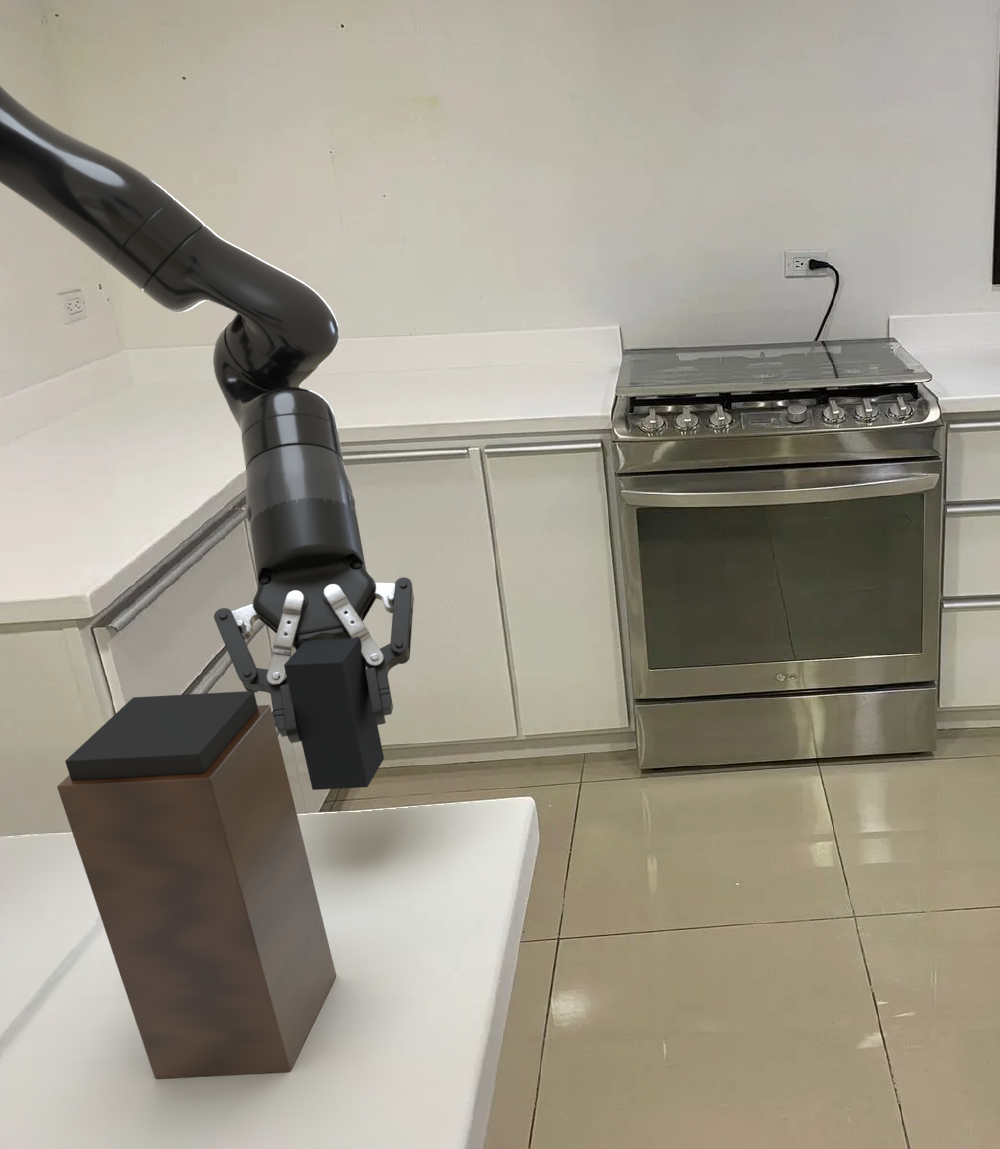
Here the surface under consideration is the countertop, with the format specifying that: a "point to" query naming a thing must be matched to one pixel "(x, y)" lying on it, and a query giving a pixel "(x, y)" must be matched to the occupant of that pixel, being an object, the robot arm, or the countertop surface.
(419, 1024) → the countertop surface
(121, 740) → the rubber pad
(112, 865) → the block
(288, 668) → the foam block
